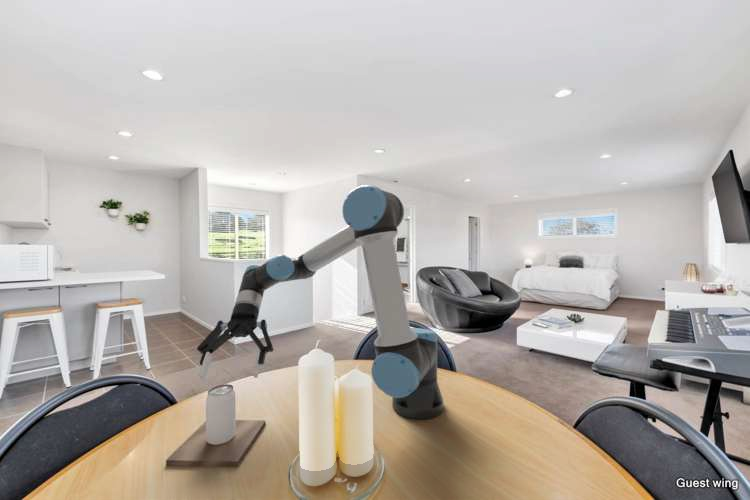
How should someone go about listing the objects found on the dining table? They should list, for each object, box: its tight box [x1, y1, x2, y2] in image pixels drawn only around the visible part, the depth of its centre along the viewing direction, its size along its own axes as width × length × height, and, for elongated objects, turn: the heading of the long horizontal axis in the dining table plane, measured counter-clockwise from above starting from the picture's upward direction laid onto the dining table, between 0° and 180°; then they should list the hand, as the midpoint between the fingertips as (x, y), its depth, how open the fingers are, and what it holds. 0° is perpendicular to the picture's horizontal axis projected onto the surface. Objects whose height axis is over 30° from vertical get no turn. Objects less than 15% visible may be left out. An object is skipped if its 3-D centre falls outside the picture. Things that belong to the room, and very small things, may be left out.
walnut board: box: [165, 419, 266, 468], centre depth 77 cm, size 16×16×1 cm
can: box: [205, 383, 237, 445], centre depth 77 cm, size 6×6×12 cm
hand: (228, 376), depth 82 cm, fingers open, 13 cm apart
